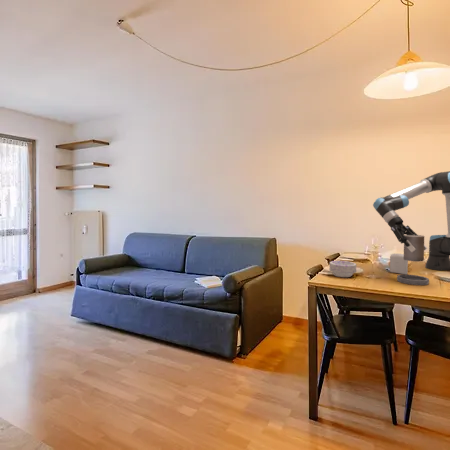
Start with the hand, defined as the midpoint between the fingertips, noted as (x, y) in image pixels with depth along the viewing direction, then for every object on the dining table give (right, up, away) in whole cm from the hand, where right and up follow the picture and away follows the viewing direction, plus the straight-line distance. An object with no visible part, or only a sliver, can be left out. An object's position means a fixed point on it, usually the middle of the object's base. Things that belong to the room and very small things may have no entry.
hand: (419, 250), depth 170 cm
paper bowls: (-35, -17, +18) cm, 43 cm away
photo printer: (+4, -17, +27) cm, 32 cm away
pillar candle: (-2, -6, +3) cm, 7 cm away
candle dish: (-1, -18, +4) cm, 18 cm away
